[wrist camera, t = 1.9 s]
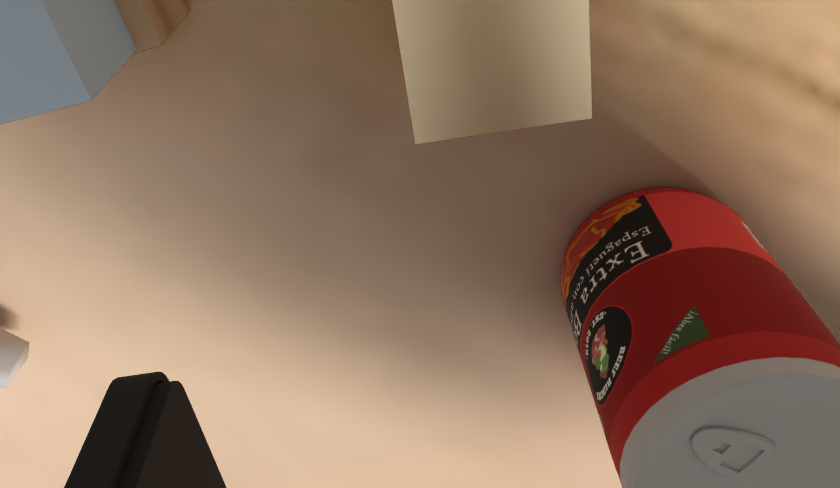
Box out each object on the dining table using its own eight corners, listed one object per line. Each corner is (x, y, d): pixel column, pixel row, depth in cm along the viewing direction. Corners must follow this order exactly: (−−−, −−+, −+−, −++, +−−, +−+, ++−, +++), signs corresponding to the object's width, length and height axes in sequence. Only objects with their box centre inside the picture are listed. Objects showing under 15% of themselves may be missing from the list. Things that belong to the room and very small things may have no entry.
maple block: (545, -106, 24) (586, -70, 19) (553, 50, 27) (592, 118, 22) (386, -80, 24) (385, -38, 19) (410, 72, 27) (415, 144, 22)
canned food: (599, 158, 29) (698, 346, 20) (787, 207, 30) (963, 406, 21) (527, 317, 33) (581, 538, 23) (697, 354, 34) (812, 577, 25)
